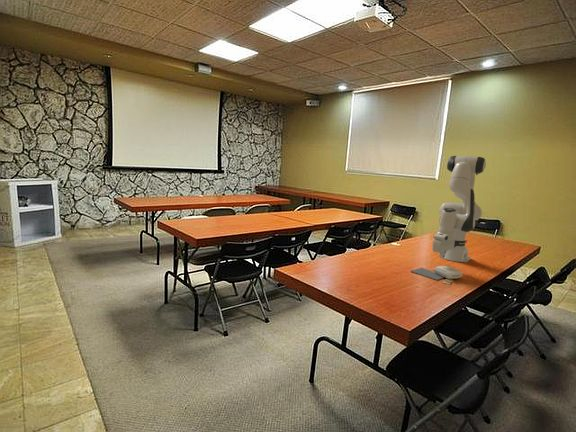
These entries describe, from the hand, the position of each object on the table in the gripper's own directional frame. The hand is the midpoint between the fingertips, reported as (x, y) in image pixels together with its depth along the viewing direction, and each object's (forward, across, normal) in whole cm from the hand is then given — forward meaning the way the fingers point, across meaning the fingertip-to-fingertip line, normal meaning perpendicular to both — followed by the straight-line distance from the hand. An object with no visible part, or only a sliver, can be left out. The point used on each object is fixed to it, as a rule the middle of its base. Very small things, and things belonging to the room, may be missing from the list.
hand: (442, 257), depth 196 cm
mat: (+8, +13, 0) cm, 16 cm away
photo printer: (+6, +5, +2) cm, 8 cm away
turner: (+8, +13, +12) cm, 20 cm away
